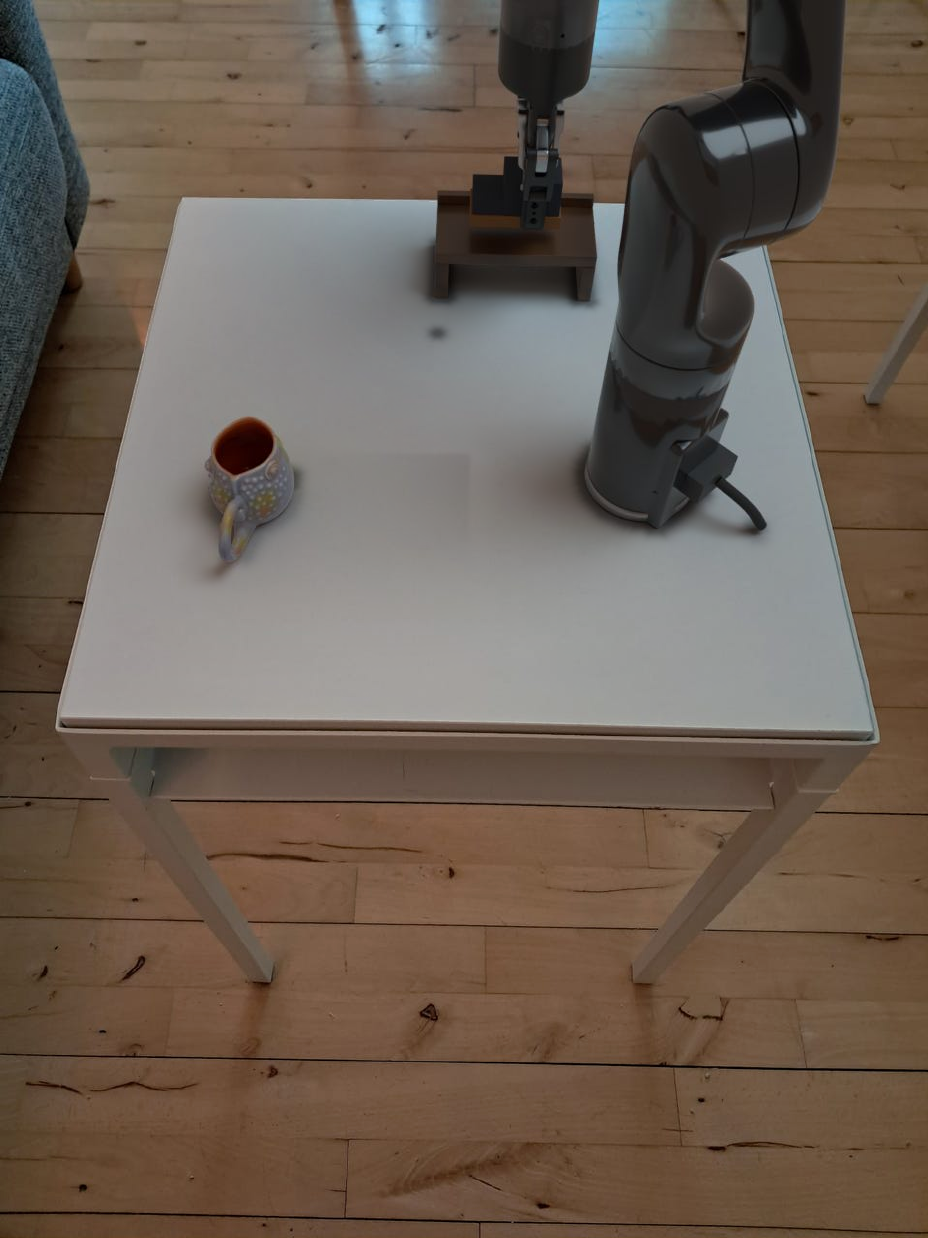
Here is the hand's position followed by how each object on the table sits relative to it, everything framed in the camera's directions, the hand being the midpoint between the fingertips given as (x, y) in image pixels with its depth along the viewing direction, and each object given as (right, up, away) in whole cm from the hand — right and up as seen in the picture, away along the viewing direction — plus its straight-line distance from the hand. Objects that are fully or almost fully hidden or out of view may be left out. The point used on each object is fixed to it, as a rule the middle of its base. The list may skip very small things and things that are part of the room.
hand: (531, 210), depth 88 cm
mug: (-24, -30, -9) cm, 40 cm away
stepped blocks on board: (-2, 0, 0) cm, 2 cm away
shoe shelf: (-1, -3, +7) cm, 8 cm away
